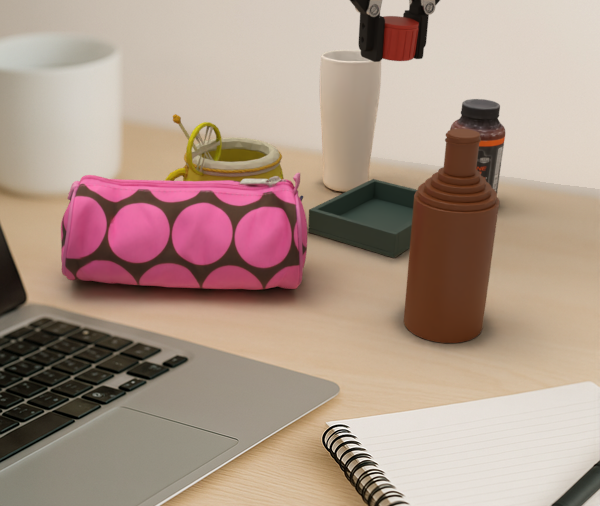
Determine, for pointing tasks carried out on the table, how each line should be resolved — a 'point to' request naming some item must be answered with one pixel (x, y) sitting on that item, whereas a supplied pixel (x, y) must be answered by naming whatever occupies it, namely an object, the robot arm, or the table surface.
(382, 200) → the tray
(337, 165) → the drinking glass
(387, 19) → the cap
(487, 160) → the supplement bottle
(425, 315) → the bottle
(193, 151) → the yellow round vessel
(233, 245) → the pencil case
